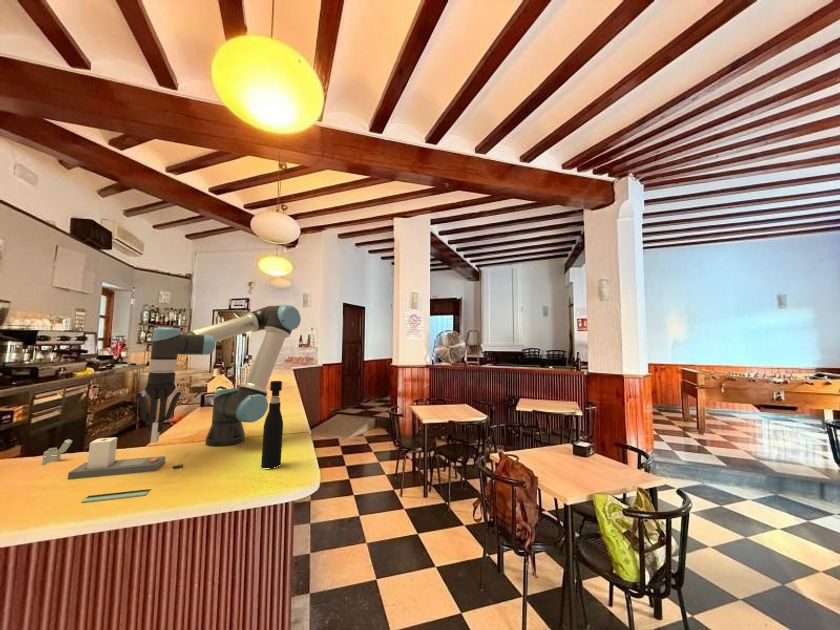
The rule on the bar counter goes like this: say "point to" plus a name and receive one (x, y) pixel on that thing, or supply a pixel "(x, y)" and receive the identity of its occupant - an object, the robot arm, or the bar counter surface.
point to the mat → (115, 495)
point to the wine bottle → (273, 430)
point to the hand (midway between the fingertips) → (154, 441)
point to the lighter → (55, 453)
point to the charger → (102, 453)
